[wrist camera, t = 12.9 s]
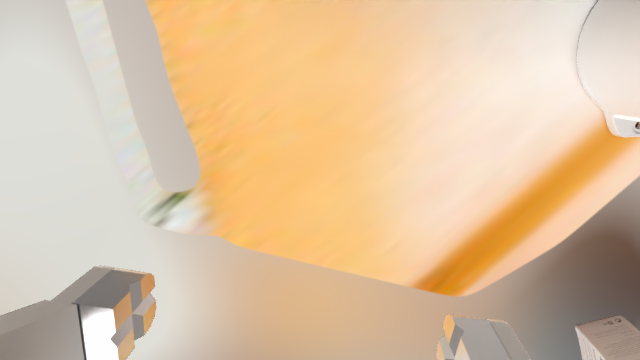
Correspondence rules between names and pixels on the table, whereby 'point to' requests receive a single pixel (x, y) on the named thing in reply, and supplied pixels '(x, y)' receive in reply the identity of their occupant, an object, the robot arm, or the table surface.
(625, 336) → the skincare box
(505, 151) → the table surface
